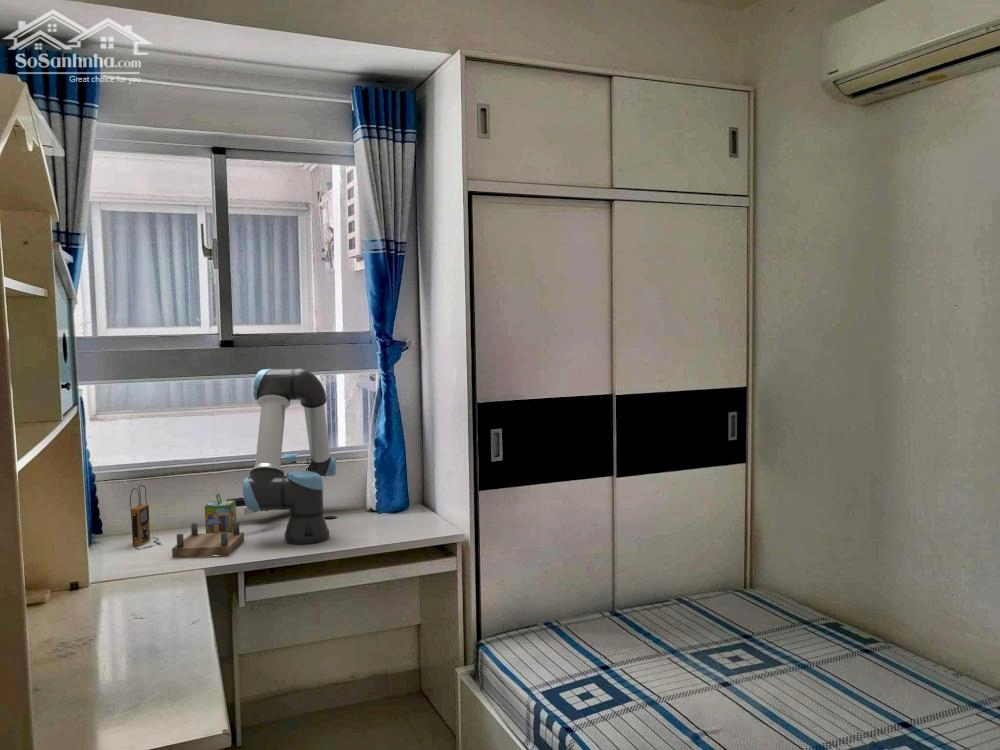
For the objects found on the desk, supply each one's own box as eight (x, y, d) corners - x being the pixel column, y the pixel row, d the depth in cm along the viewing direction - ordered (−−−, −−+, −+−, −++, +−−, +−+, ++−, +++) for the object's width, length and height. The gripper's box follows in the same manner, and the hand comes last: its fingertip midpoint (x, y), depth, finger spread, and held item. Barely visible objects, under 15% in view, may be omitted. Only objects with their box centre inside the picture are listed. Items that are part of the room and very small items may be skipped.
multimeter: (156, 549, 259) (154, 490, 258) (127, 549, 260) (124, 490, 258) (175, 537, 274) (173, 481, 273) (147, 538, 274) (145, 482, 273)
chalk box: (232, 537, 273) (230, 495, 272) (205, 538, 272) (203, 497, 271) (238, 531, 282) (236, 490, 281) (211, 532, 281) (210, 491, 280)
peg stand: (244, 540, 268) (243, 520, 268) (229, 555, 250) (228, 534, 250) (191, 542, 267) (190, 522, 267) (172, 557, 249) (171, 536, 249)
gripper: (298, 510, 295) (257, 523, 276) (249, 504, 306) (206, 516, 287) (297, 490, 294) (256, 502, 275) (248, 485, 305) (206, 496, 287)
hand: (231, 509), depth 281 cm, fingers open, 13 cm apart
